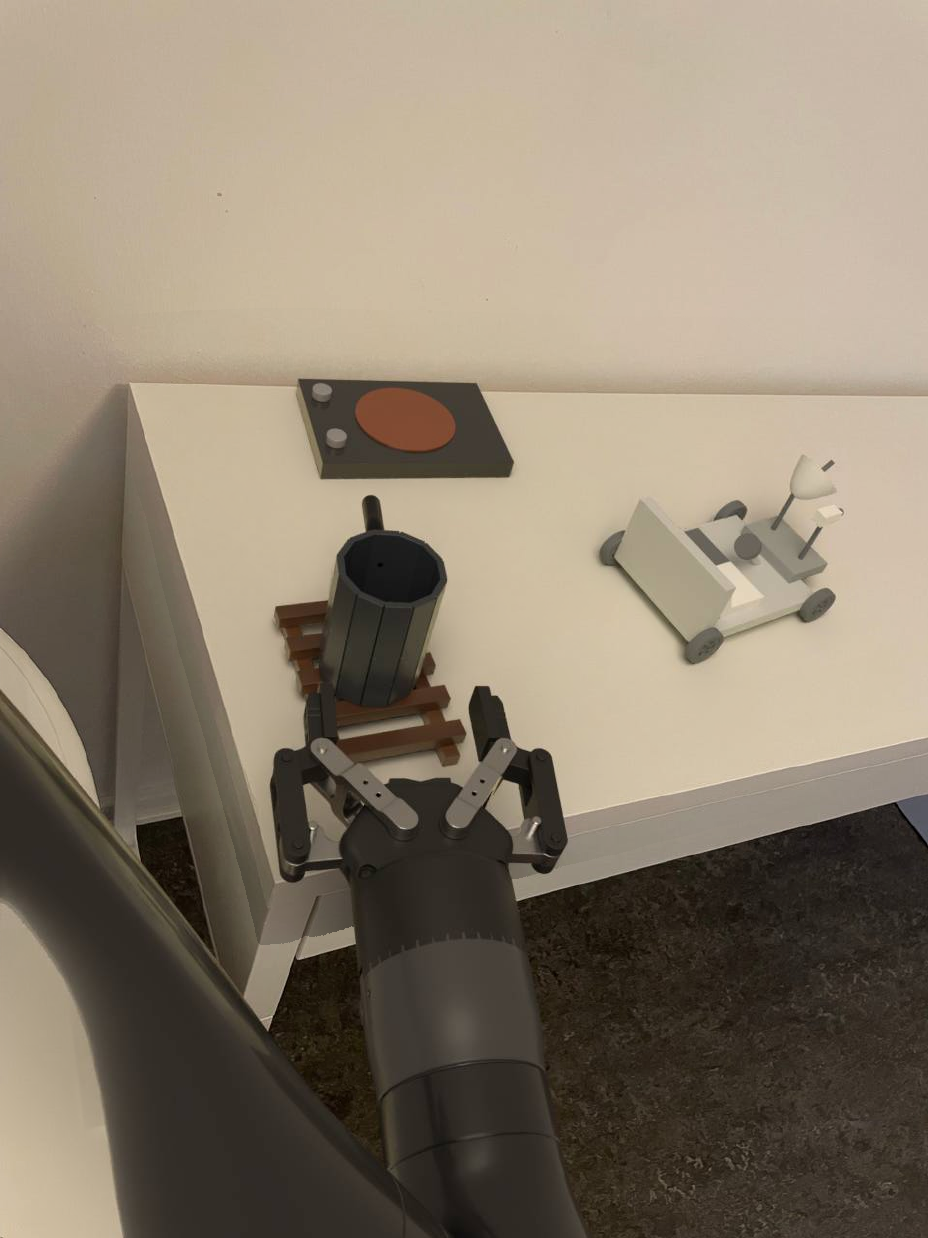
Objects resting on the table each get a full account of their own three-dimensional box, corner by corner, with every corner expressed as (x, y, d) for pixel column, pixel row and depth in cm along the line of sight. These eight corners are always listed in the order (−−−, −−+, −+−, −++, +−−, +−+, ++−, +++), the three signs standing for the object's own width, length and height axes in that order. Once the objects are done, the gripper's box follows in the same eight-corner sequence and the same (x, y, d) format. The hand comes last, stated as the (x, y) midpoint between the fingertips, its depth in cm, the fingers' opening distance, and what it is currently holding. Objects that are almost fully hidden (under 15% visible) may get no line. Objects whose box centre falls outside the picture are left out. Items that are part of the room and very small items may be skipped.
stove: (320, 478, 80) (324, 454, 79) (295, 394, 87) (298, 369, 85) (509, 477, 86) (517, 454, 84) (472, 397, 93) (478, 374, 91)
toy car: (804, 425, 83) (909, 519, 77) (753, 517, 90) (846, 609, 84) (636, 464, 74) (740, 572, 68) (594, 562, 81) (685, 668, 75)
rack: (269, 617, 69) (271, 596, 68) (394, 602, 73) (399, 582, 72) (326, 789, 61) (330, 770, 60) (464, 762, 65) (471, 744, 63)
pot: (423, 707, 64) (454, 609, 58) (321, 707, 63) (342, 605, 56) (400, 571, 72) (425, 471, 66) (309, 567, 71) (326, 464, 64)
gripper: (624, 937, 44) (544, 651, 55) (291, 955, 41) (274, 644, 51) (573, 1008, 50) (509, 734, 60) (273, 1030, 46) (262, 734, 57)
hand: (401, 693), depth 56 cm, fingers open, 8 cm apart
